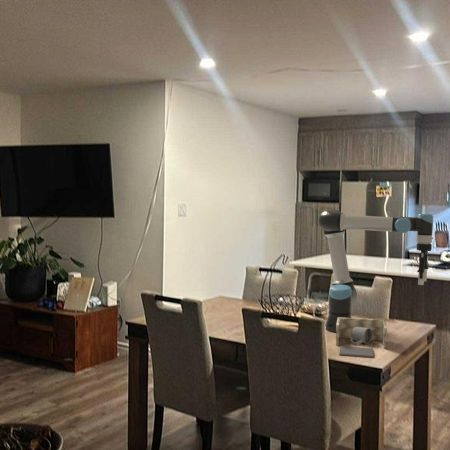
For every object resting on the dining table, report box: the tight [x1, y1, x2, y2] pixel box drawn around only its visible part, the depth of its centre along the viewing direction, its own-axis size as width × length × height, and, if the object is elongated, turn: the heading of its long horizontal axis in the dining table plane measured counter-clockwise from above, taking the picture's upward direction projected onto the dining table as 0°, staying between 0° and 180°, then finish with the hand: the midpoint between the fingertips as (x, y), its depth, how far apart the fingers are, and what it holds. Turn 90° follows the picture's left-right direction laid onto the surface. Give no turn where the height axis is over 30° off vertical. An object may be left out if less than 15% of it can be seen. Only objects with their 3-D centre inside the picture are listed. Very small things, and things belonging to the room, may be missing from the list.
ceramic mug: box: [350, 327, 372, 346], centre depth 278 cm, size 11×8×8 cm
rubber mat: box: [339, 345, 375, 359], centre depth 261 cm, size 15×13×1 cm
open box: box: [335, 317, 388, 350], centre depth 278 cm, size 23×17×10 cm
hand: (422, 283), depth 301 cm, fingers open, 13 cm apart
